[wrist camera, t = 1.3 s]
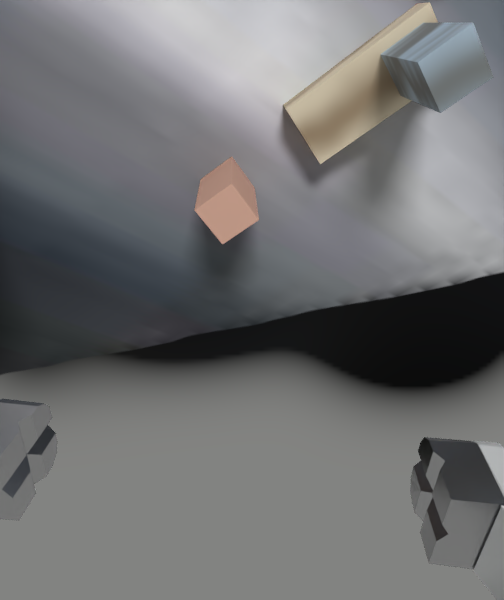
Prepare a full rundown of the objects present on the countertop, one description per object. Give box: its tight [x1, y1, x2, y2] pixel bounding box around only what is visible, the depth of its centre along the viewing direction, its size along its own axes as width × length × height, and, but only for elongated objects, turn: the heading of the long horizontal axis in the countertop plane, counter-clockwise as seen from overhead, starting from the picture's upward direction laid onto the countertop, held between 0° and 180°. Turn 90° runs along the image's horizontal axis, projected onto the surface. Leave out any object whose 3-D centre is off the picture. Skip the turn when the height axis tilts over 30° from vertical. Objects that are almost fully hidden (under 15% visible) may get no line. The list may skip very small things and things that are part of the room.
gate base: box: [283, 2, 493, 164], centre depth 37 cm, size 6×14×12 cm, turn 125°
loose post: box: [195, 157, 259, 244], centre depth 43 cm, size 4×4×9 cm
